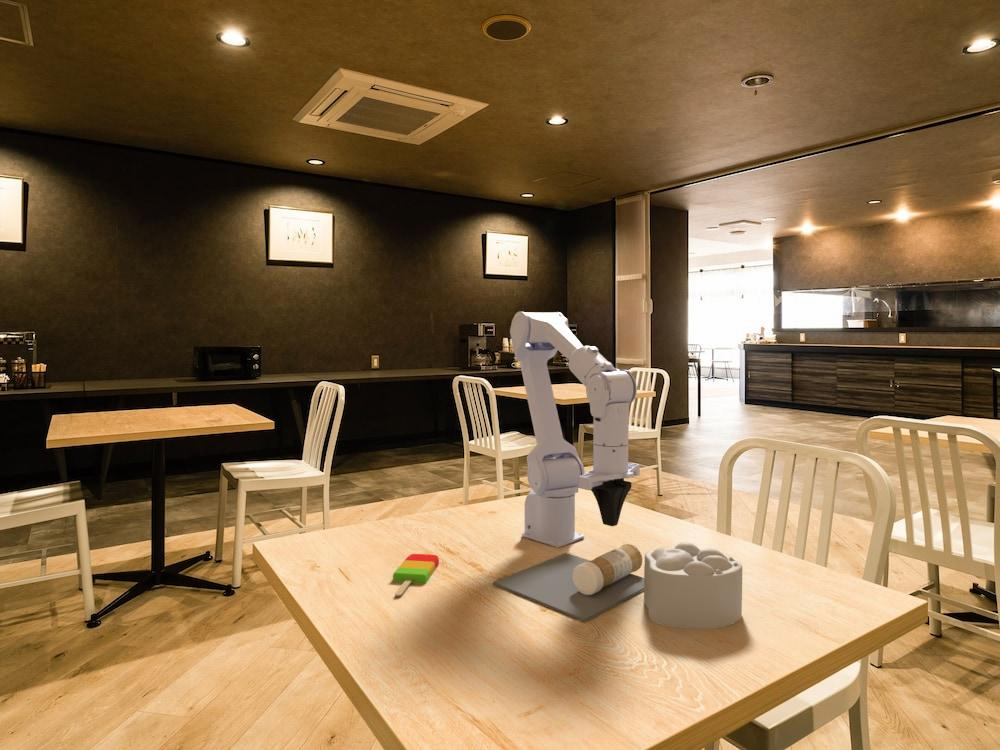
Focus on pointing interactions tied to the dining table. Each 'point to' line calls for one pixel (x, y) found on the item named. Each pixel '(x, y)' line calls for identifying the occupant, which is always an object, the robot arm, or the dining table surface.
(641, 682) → the dining table surface
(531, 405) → the robot arm
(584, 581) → the sprinkles bottle
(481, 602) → the dining table surface
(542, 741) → the dining table surface
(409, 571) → the popsicle
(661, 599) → the lumpy-topped squat cylinder
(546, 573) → the rubber mat
